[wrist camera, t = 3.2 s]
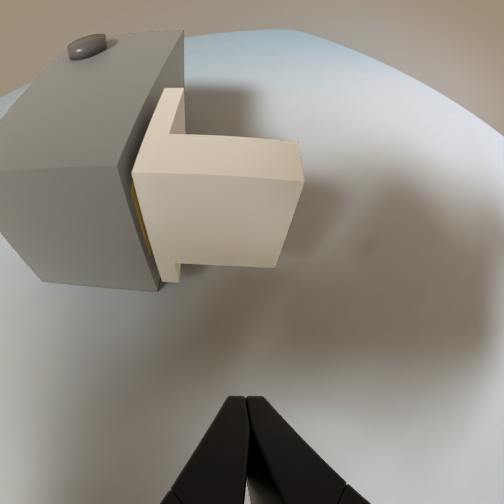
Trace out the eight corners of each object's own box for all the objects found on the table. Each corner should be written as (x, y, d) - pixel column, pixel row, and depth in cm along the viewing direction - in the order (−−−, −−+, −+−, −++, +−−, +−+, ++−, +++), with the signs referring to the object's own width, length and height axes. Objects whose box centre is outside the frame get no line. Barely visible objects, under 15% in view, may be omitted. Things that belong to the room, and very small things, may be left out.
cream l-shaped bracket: (262, 302, 14) (304, 181, 8) (160, 297, 14) (118, 172, 7) (260, 203, 17) (285, 77, 11) (175, 199, 17) (163, 71, 10)
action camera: (158, 291, 15) (113, 146, 8) (42, 281, 15) (-47, 164, 7) (190, 124, 22) (190, 12, 15) (105, 125, 22) (86, 23, 14)
